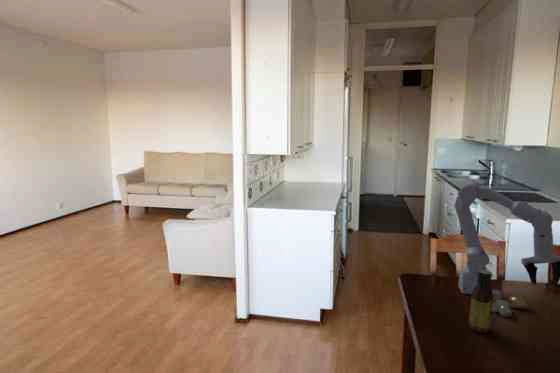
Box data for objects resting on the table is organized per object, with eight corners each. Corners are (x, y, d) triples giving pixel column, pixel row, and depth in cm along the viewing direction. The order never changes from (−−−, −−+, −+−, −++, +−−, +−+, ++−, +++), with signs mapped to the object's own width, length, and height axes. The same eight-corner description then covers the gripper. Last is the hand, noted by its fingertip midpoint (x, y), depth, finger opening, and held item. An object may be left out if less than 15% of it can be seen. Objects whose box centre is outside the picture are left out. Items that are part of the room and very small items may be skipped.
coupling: (512, 309, 139) (512, 298, 139) (508, 305, 143) (508, 294, 143) (527, 310, 138) (528, 299, 138) (522, 307, 142) (523, 296, 142)
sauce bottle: (492, 335, 122) (500, 277, 119) (471, 332, 124) (478, 275, 120) (485, 324, 129) (492, 269, 125) (465, 322, 130) (472, 267, 126)
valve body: (493, 315, 134) (495, 304, 133) (482, 297, 148) (483, 287, 147) (511, 318, 133) (512, 306, 132) (497, 299, 147) (499, 288, 146)
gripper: (528, 250, 133) (529, 287, 134) (572, 247, 132) (573, 285, 133) (517, 245, 140) (519, 280, 141) (559, 242, 139) (560, 278, 140)
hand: (544, 282), depth 137 cm, fingers open, 7 cm apart
